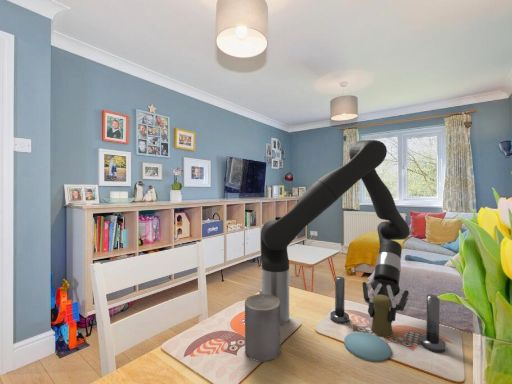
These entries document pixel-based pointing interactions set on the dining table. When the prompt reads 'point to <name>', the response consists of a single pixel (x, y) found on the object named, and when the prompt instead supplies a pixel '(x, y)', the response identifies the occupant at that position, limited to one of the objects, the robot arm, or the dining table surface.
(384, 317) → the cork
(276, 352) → the pillar candle
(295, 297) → the dining table surface
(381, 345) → the teal mat
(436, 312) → the gap posts
